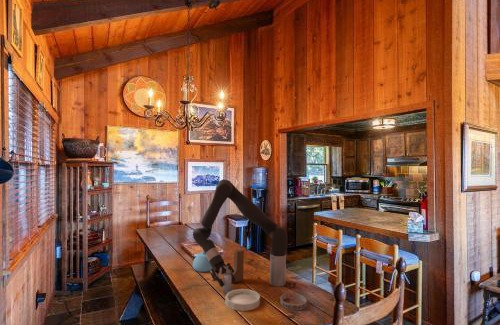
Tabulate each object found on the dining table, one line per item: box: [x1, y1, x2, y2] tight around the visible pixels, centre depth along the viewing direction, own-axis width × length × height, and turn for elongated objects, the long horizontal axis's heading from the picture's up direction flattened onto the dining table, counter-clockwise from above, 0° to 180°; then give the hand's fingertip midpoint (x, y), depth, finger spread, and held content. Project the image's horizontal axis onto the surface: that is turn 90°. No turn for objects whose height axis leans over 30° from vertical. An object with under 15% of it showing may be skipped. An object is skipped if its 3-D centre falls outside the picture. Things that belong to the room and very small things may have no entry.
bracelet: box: [279, 292, 308, 311], centre depth 144 cm, size 14×14×3 cm
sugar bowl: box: [192, 250, 213, 273], centre depth 190 cm, size 15×15×12 cm
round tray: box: [224, 288, 261, 312], centre depth 145 cm, size 17×17×3 cm
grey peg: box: [222, 274, 232, 295], centre depth 156 cm, size 4×4×9 cm
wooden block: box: [231, 248, 245, 284], centre depth 171 cm, size 9×4×18 cm, turn 119°
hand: (228, 283), depth 155 cm, fingers open, 8 cm apart
